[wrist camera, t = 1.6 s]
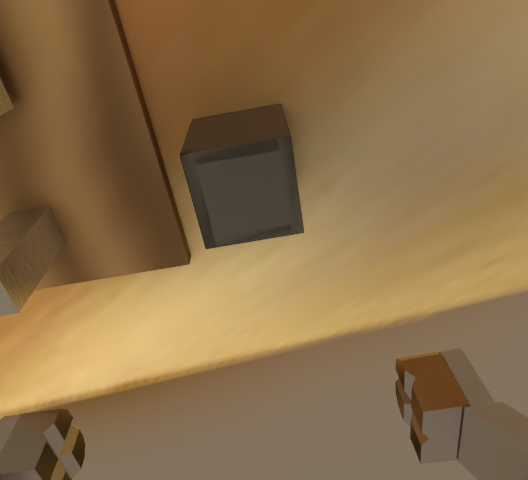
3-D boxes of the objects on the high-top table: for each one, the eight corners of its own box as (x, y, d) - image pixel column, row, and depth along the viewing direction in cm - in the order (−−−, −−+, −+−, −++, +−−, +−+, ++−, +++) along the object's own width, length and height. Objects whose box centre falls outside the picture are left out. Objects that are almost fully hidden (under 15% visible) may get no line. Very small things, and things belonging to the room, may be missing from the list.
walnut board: (89, -80, 21) (83, -82, 20) (190, 256, 30) (189, 264, 30) (-210, -18, 21) (-229, -18, 21) (-18, 290, 31) (-25, 299, 30)
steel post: (49, 205, 27) (-6, 270, 21) (66, 241, 28) (19, 312, 22) (9, 212, 27) (-58, 279, 21) (27, 248, 28) (-30, 320, 22)
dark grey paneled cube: (280, 103, 25) (290, 135, 20) (292, 185, 28) (304, 232, 23) (192, 119, 26) (179, 155, 21) (212, 199, 28) (205, 249, 23)
